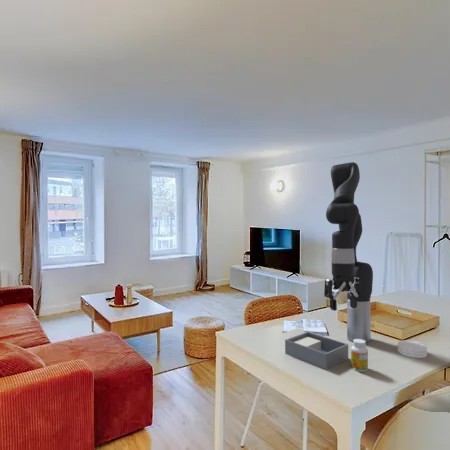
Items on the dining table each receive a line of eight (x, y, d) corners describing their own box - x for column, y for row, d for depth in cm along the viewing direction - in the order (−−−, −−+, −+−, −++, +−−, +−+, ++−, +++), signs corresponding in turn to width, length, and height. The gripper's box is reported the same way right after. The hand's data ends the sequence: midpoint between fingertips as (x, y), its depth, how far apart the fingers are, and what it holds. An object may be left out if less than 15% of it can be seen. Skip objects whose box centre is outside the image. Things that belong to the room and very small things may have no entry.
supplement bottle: (348, 365, 121) (348, 338, 121) (363, 364, 122) (363, 337, 122) (355, 372, 116) (355, 344, 116) (370, 371, 117) (370, 343, 116)
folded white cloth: (327, 336, 152) (327, 332, 152) (281, 334, 156) (281, 329, 156) (324, 323, 171) (324, 319, 171) (283, 321, 175) (283, 317, 175)
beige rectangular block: (306, 346, 137) (306, 336, 137) (320, 351, 132) (320, 341, 132) (290, 352, 131) (290, 342, 131) (304, 358, 126) (304, 347, 126)
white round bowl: (432, 355, 130) (432, 345, 130) (418, 361, 125) (418, 351, 125) (406, 346, 139) (406, 338, 139) (392, 352, 134) (392, 343, 134)
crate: (308, 346, 139) (307, 331, 139) (348, 360, 126) (348, 344, 125) (285, 355, 131) (285, 339, 130) (325, 371, 117) (325, 354, 117)
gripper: (351, 260, 124) (351, 305, 124) (319, 261, 118) (319, 308, 118) (367, 261, 117) (367, 309, 117) (333, 263, 112) (334, 313, 111)
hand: (343, 308), depth 117 cm, fingers open, 8 cm apart
